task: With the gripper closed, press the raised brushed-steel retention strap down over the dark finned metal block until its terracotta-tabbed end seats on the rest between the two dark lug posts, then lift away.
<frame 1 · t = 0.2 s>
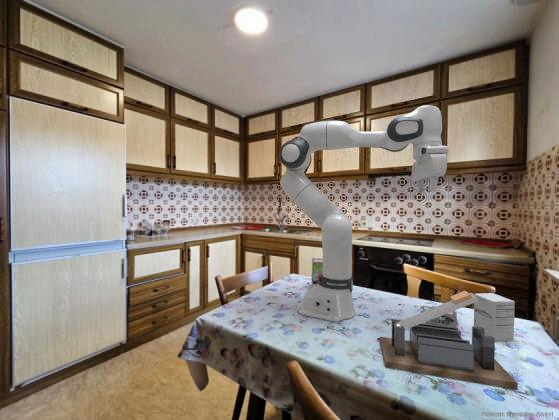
hand: (426, 192, 88), 47 cm above the table, fingers open, 8 cm apart
tea box: (327, 289, 126), on the table
heatsink board: (438, 361, 67), on the table
retention strap: (432, 311, 67), point 13 cm above the table, hinge at 30.0°
graphics card: (437, 325, 89), on the table
supplement box: (492, 335, 81), on the table
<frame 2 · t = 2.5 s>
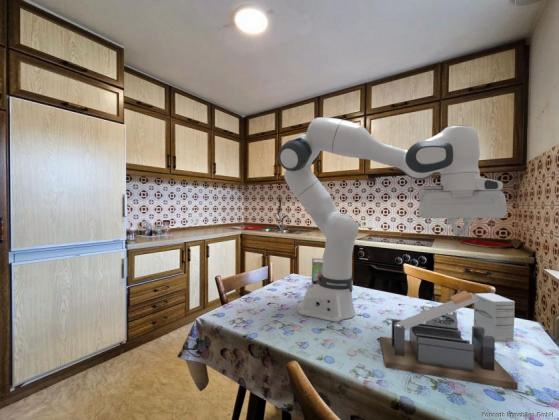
hand: (460, 234, 69), 34 cm above the table, fingers closed
nothing on the table moved.
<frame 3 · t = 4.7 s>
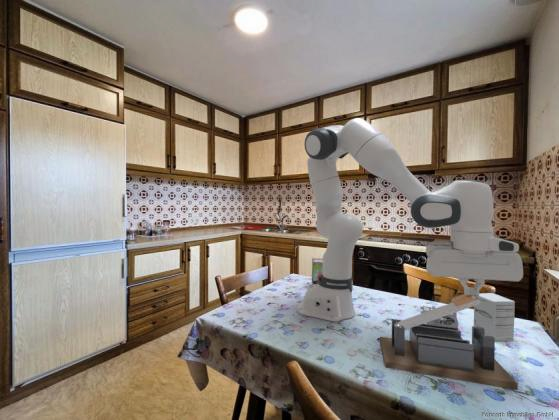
hand: (471, 295, 65), 19 cm above the table, fingers closed, pressing on retention strap
retention strap: (433, 313, 67), point 13 cm above the table, hinge at 27.9°, touching gripper
everything else where it was.
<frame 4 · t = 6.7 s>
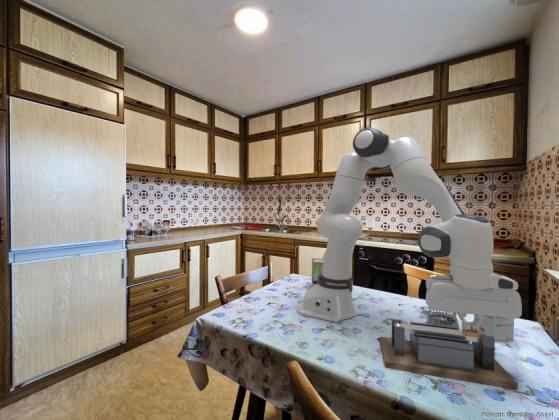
hand: (470, 329, 65), 10 cm above the table, fingers closed, pressing on retention strap
retention strap: (438, 330, 67), point 8 cm above the table, hinge at 0.0°, touching gripper
everything else where it was.
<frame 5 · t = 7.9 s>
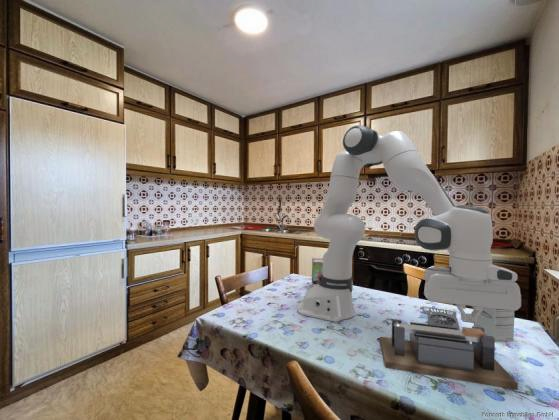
hand: (468, 321, 64), 12 cm above the table, fingers closed
retention strap: (438, 331, 67), point 8 cm above the table, hinge at 0.0°
everything else where it was.
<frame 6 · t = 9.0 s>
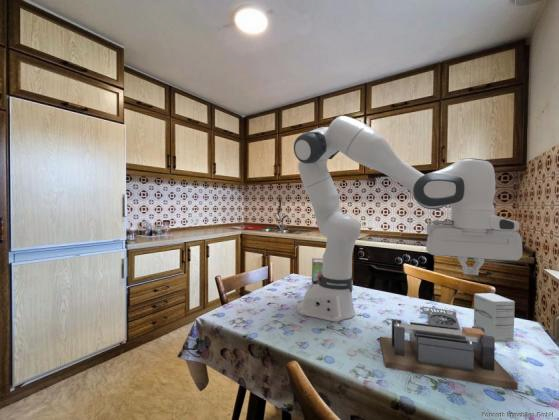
hand: (470, 274, 65), 24 cm above the table, fingers closed
nothing on the table moved.
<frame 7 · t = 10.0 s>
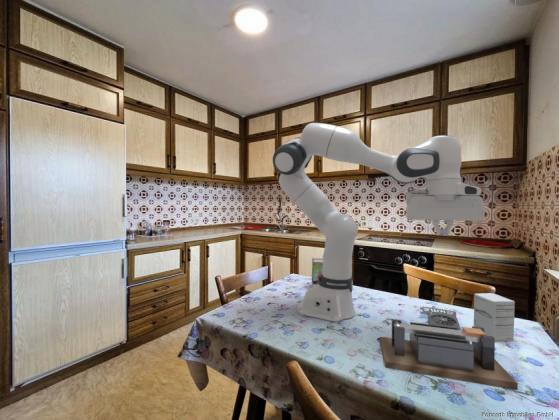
hand: (442, 235, 76), 33 cm above the table, fingers closed
nothing on the table moved.
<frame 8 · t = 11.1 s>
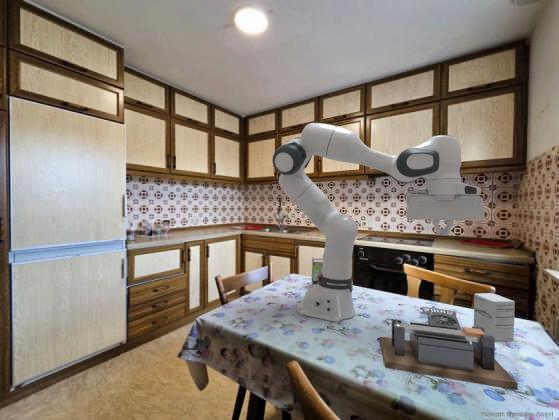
hand: (442, 235, 76), 33 cm above the table, fingers closed
nothing on the table moved.
at the end: retention strap at +0° (first picture: +30°) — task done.
